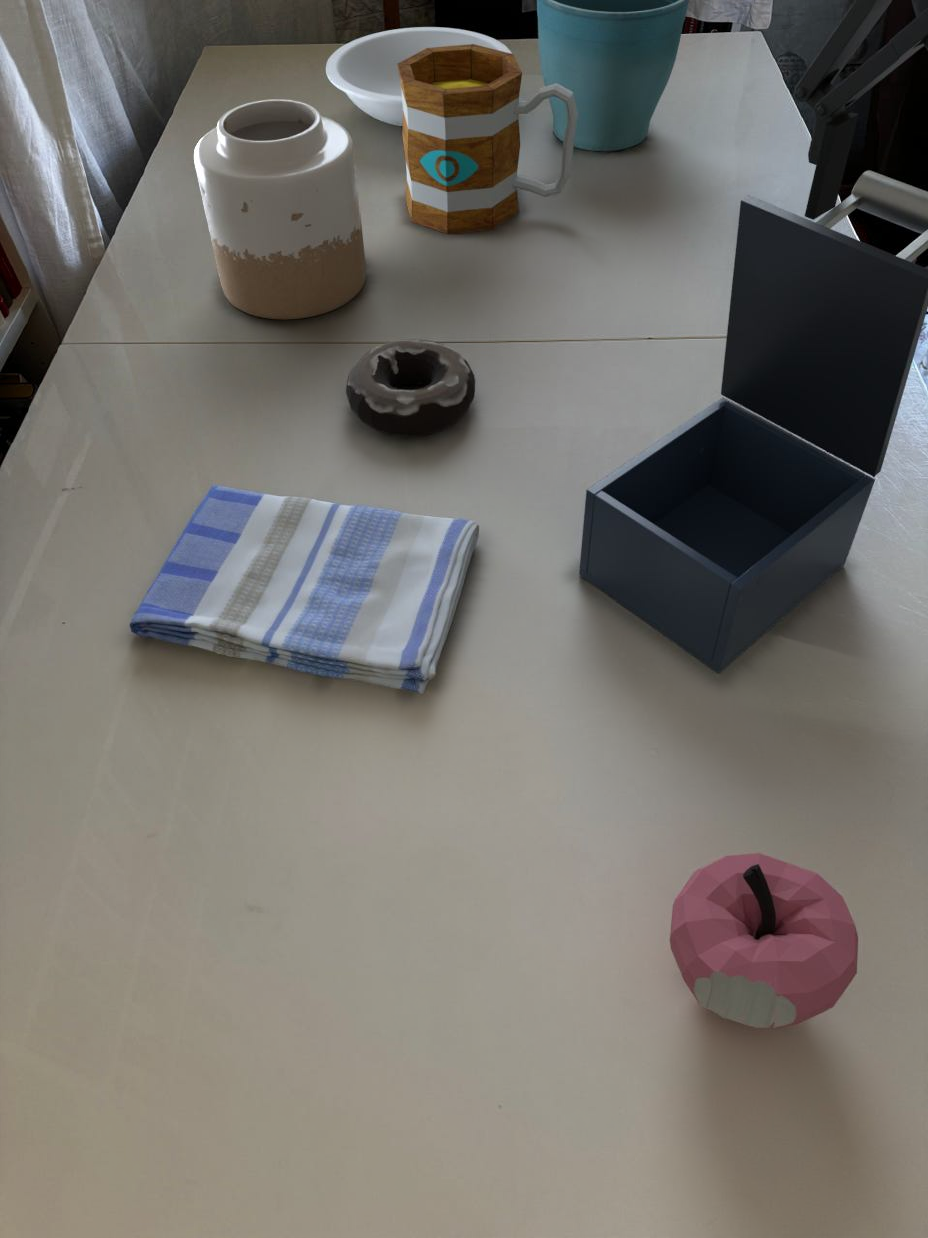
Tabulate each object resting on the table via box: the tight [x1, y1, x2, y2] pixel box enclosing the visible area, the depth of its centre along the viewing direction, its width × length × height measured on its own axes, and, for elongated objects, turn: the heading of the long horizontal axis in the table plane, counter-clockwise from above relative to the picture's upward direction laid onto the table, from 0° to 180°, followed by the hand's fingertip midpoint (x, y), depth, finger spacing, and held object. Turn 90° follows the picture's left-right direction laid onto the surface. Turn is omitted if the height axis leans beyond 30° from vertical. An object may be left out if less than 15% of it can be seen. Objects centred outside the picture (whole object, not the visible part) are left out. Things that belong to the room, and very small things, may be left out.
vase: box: [193, 98, 367, 320], centre depth 104 cm, size 15×15×17 cm
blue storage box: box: [578, 397, 876, 674], centre depth 77 cm, size 16×14×9 cm
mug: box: [398, 44, 578, 235], centre depth 114 cm, size 20×14×15 cm
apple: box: [669, 852, 859, 1029], centre depth 55 cm, size 10×9×10 cm
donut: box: [345, 338, 476, 437], centre depth 94 cm, size 12×12×4 cm
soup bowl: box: [325, 26, 513, 127], centre depth 134 cm, size 24×24×7 cm
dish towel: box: [129, 484, 480, 695], centre depth 79 cm, size 17×24×3 cm
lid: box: [720, 169, 928, 478], centre depth 72 cm, size 16×14×10 cm
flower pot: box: [536, 0, 690, 152], centre depth 126 cm, size 18×18×17 cm
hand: (903, 245), depth 71 cm, fingers open, 13 cm apart
